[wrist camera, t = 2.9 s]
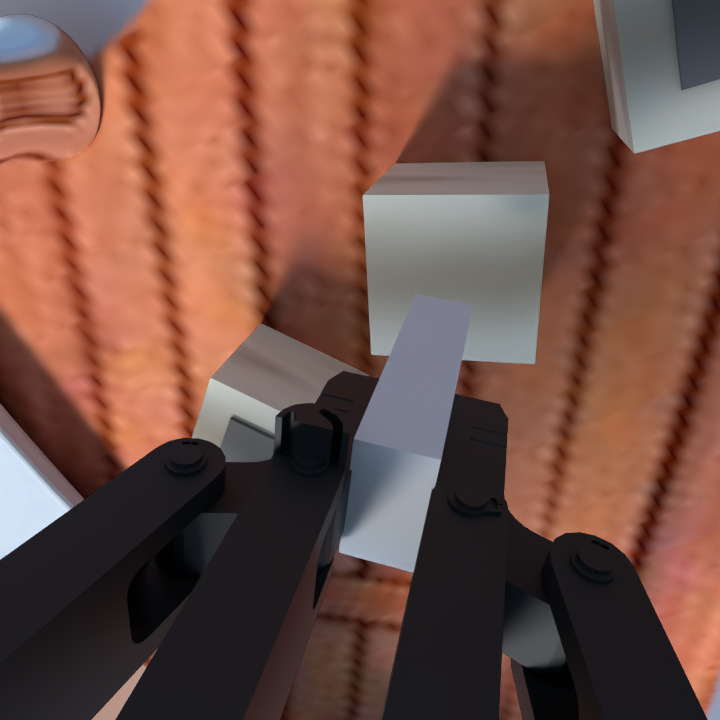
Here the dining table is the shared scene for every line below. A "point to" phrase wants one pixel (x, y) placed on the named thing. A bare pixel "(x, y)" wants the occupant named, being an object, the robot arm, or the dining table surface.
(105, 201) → the dining table surface
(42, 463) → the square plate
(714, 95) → the marked block
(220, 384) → the marked block
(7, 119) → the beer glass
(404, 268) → the plain block
